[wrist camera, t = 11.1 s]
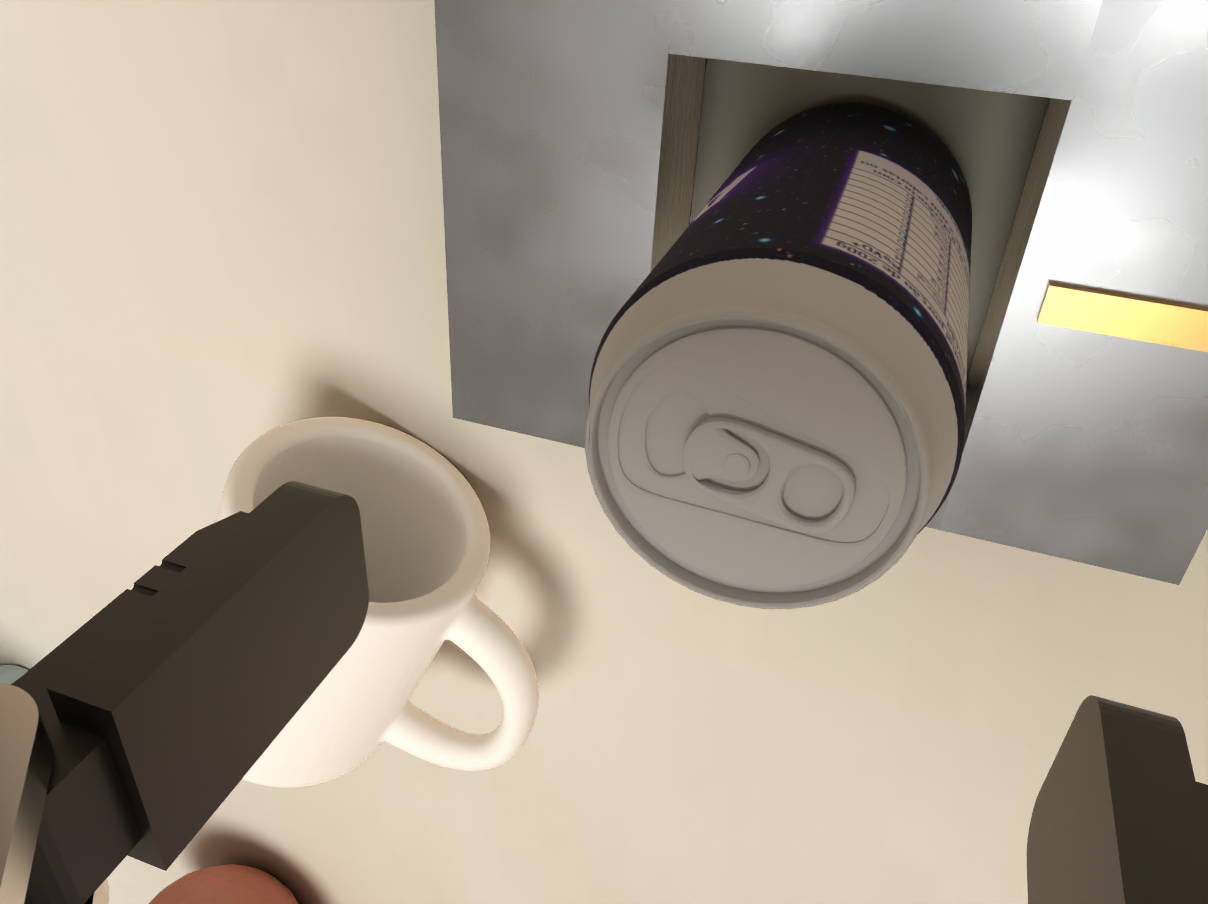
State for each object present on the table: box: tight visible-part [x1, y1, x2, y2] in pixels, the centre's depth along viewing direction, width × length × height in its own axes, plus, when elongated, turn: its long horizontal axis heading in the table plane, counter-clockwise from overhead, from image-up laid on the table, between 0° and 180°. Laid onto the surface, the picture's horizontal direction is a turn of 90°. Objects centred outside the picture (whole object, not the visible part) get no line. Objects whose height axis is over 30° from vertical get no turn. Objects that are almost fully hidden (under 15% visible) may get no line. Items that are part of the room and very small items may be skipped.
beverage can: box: [585, 103, 972, 609], centre depth 18 cm, size 6×6×12 cm
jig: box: [435, 0, 1208, 585], centre depth 21 cm, size 18×12×4 cm, turn 88°
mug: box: [214, 417, 539, 787], centre depth 31 cm, size 12×10×8 cm
